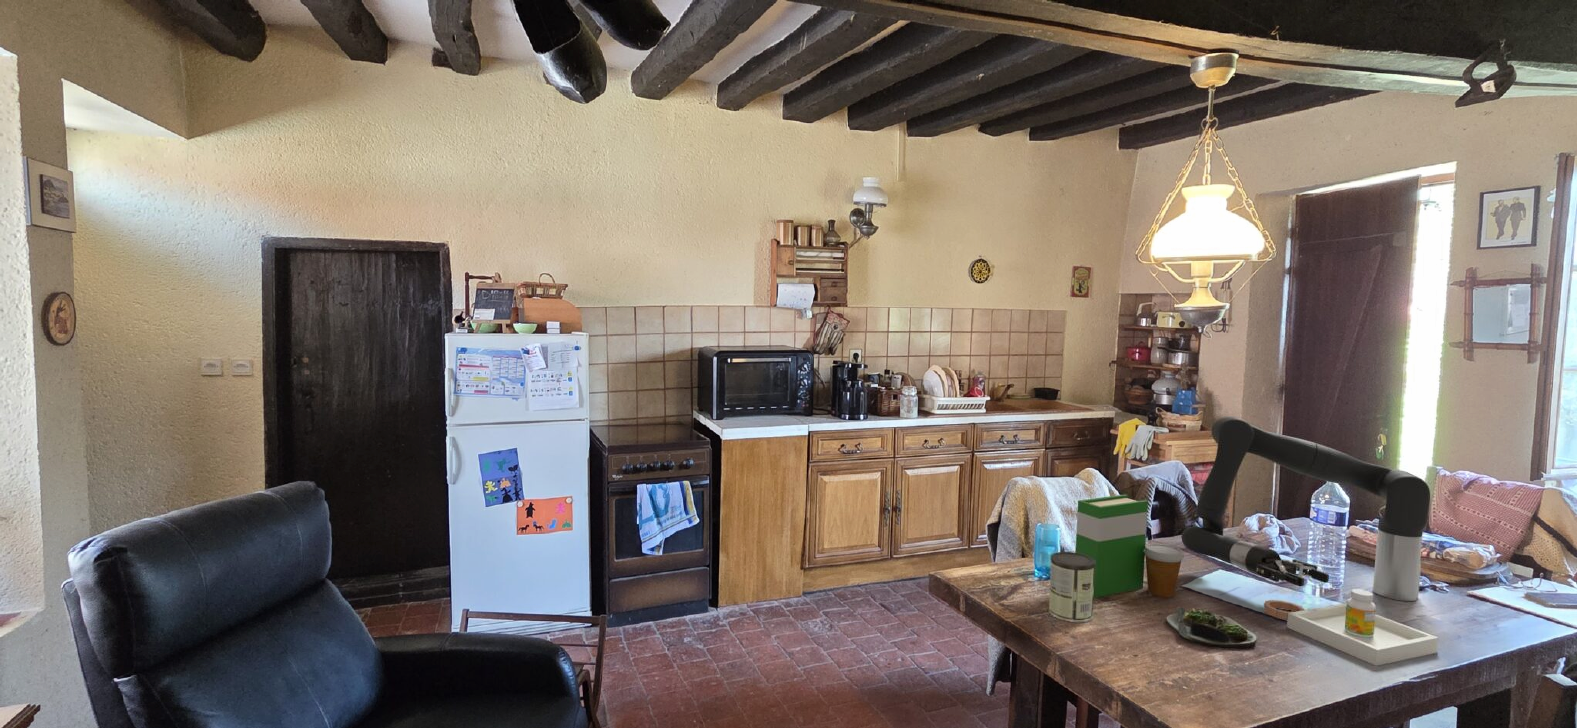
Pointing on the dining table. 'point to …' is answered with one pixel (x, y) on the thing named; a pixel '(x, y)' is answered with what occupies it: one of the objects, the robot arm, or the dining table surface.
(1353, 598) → the supplement bottle
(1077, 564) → the coffee can
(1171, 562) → the disposable coffee cup
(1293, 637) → the dining table surface
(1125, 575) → the hardback book
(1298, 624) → the tray
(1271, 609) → the cup holder
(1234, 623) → the salad plate
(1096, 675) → the dining table surface
